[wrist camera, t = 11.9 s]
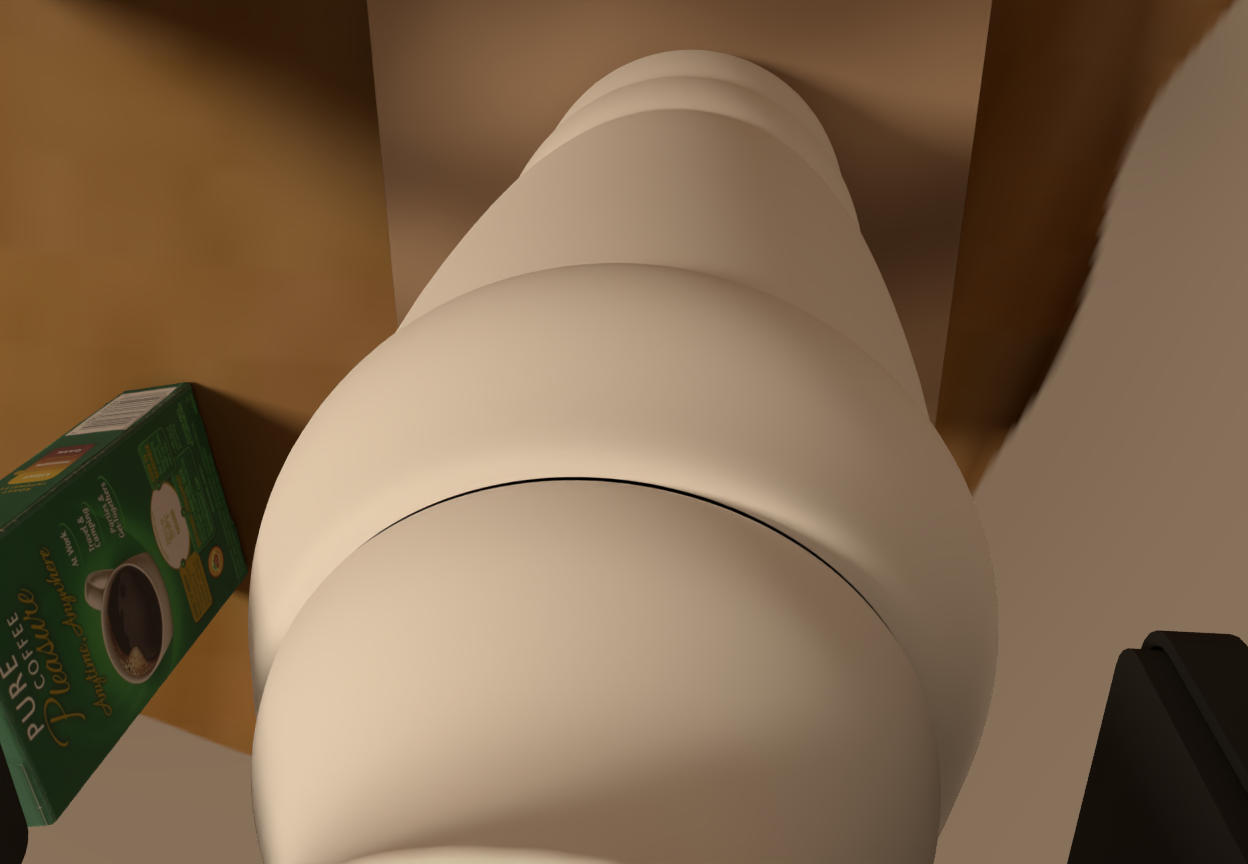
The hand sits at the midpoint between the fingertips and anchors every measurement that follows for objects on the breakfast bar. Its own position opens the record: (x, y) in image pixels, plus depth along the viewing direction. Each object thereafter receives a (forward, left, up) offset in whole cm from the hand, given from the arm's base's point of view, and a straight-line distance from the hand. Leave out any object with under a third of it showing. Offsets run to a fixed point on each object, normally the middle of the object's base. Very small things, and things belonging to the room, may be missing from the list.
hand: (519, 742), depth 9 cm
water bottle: (0, +1, -20) cm, 20 cm away
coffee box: (+12, -17, -27) cm, 34 cm away
